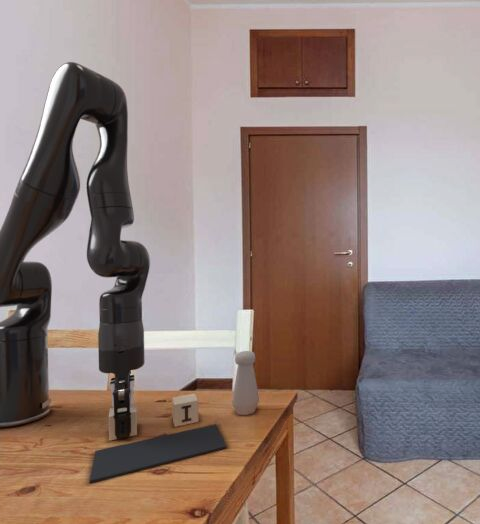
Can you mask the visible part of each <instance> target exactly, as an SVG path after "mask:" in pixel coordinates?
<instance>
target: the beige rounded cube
mask: <svg viewBox="0 0 480 524" xmlns="http://www.w3.org/2000/svg"><path fill="white" fill-rule="evenodd" d="M137 409H138V405H137V403H132V404H131V405H130V412H131V415H130V436H129V437H134V436H137V435H138V410H137ZM123 411H127V408H120V409H118V412H123ZM113 415H114V407H110V408H109V412H108V441H109V442H111V441H114V440H118V439H117V438H116V420H114V418H113Z"/></svg>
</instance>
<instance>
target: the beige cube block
mask: <svg viewBox="0 0 480 524" xmlns="http://www.w3.org/2000/svg"><path fill="white" fill-rule="evenodd" d="M171 403H172V404H171V406H172V408H171V409H172V412H171V413H172V422H173V427H174V428H176V427H180V426H185V425H190V424H194V423H199V399H198V397H197V395H196V393H189V394H184V395H178V396H172V397H171Z"/></svg>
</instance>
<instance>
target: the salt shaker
mask: <svg viewBox="0 0 480 524" xmlns="http://www.w3.org/2000/svg"><path fill="white" fill-rule="evenodd" d="M234 362H235V364H236V365H237V369H236V374H235V379H234V380H235V381H234V387H233V393H232V399H231V405H232V407H233V409H234V410H235V412H236V414H237V415H238V416H239V415H240V416H248V415H252V414H254V413H255V412H256V409H257V408H258V405H259V403H260V395H259V389H258V385H257V379H256V374H255V368H254V363H255V362H256V353H255V352H253V351H251V350H243V351H239V352H237V353H236V354H235V358H234Z"/></svg>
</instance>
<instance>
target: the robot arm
mask: <svg viewBox="0 0 480 524" xmlns="http://www.w3.org/2000/svg"><path fill="white" fill-rule="evenodd" d="M128 115H129V109H128V100H127V96H126V93H125V91H124V89H123V87H121V86H120V85H119V84H118V83H117V82H116V81H114V80H113V79H110V78H109V77H107V76H104V75H103V74H100V73H99V72H97V71H95V70H93V69H91V68H88V67H87V66H84V65H82V64H80V63H77V62H74V61H68V62H65V63H63V64H61V65H60V66H59V67H58V68H57V69H56V71H55V72H54V74H53V76H52V78H51V80H50V83H49V85H48V88H47V93H46V97H45V101H44V105H43V109H42V114H41V117H40V123H39V126H38V129H37V132H36V134H35V135H36V136H35V138H34V142H33V144H32V147H31V150H30V153H29V156H28V158H27V160H26V164H25V166H24V168H23V170H22V172H21V174H20V177H19V180H18V182H17V185H16V187H15V190H14V193H13V196H12V198H11V203H10V206H9V208H8V211H7V213H6V216H5V218H4V220H3V223H2V225H1V228H0V308H7V307H15V306H16V309H15V311H14V312H13V313H12V314H11V315H9V316H8V317H7V318H5V319H3V320H2V321H0V428H10V427H17V426H21V425H25V424H26V425H27V424H29V423H32V422H35V421H38V420H40V419H42V418H45V417H46V416H48V415H49V414H50V413H51V408H50V407H51V406H50V404H52V398H51V397H50V379H49V377H50V376H49V375H50V374H49V342H48V340H49V339H48V338H49V337H48V327H49V325H50V322H51V319H52V318H51V317H52V295H53V294H52V293H53V281H52V277H51V273H50V271H49V269H48V267H47V266H46V265H45V264H44V263H42V262H40V261H34V260H33V261H30V260H28V261H27V260H26V257H27V256H28V254H29V253H30V252H31V250H32V249H33V248H34V247H35V246H36V245H38V244H39V243H40V242H41V241H43V240H44V239H45V238H46V237H48V236H49V235H51V234H52V233H53V232H55V230H57V229H58V228H59V227H61V226H62V225H63V224H64V223H65V222H66V221H67V219H68V218H69V217H70V216H71V213H72V211H73V209H74V206H75V204H76V201H77V199H78V198H79V194H80V191H81V177H80V173H79V170H78V169H79V168H78V166H77V162H76V159H75V155H74V149H73V144H74V137H75V135H76V131H77V128H78V126H79V123H80V121H81V120H83V121H85V122H89V123H91V124H94V125H95V127H96V130H97V134H98V139H99V147H98V151H97V155H96V157H95V159H94V161H93V163H92V165H91V167H90V170H89V171H88V174H87V178H86V196H87V203H88V208H89V214H90V225H89V231H88V239H87V245H86V261H87V263H88V266H89V268H90V269H91V271H92V272H93V273H94V274H95V275H97V276H98V277H101V278H106V279H107V278H108V279H109V278H115V282H114V285H113V287H112V288H110V289H108V290H106V291H104V292H102V293H101V294H100V295H99V299H98V312H99V313H98V314H99V315H98V316H99V326H98V333H97V342H98V343H97V345H98V348H97V349H98V352H97V353H98V371H99V372H101V373H103V374H114V377H110V382H109V390H110V391H111V406H112V408H114V415H113V418H114V420H116V438H117V439H116V440H121V439H126V438H129V437H131V436H130V415H131V412H130V405H132V404H133V403H134V388H135V374H132V371H137V370H138V369H140V368H143V367H144V365H145V363H146V361H145V359H146V358H145V328H144V322H143V301H142V300H143V295H144V292H145V289H146V284H147V281H148V276H149V273H150V267H151V258H150V254H149V252H148V250H147V248H146V247H145V245H144V244H142V243H140V242H139V241H136V240H126V239H125V240H124V239H121V235H122V229H125V228H130V226H132V225H133V224H134V222H135V214H134V213H135V212H134V207H133V202H132V196H131V189H130V184H129V183H130V182H129V174H128V146H129V145H128V144H129V143H128V142H129V141H128V140H129V136H128V135H129V134H128V133H129V130H128V129H129V127H128V126H129V116H128ZM25 260H26V261H25ZM120 408H127V411H123V412H118V409H120Z"/></svg>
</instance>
